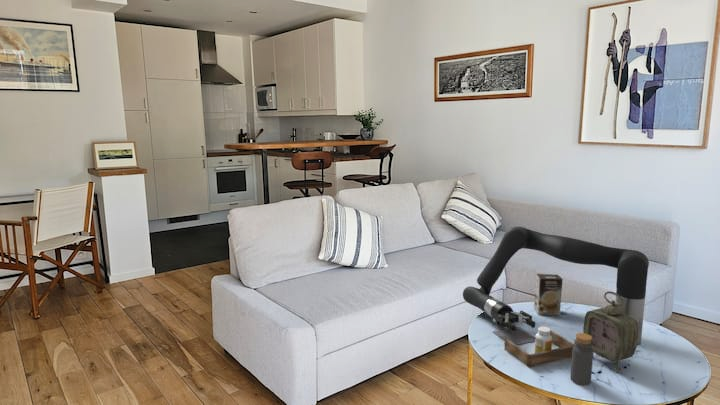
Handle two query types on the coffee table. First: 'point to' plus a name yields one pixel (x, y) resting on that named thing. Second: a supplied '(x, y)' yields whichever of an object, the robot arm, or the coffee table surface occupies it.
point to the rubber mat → (515, 336)
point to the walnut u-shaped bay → (545, 356)
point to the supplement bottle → (543, 340)
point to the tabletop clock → (611, 332)
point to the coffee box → (548, 294)
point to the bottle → (582, 359)
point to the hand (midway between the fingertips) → (524, 327)
